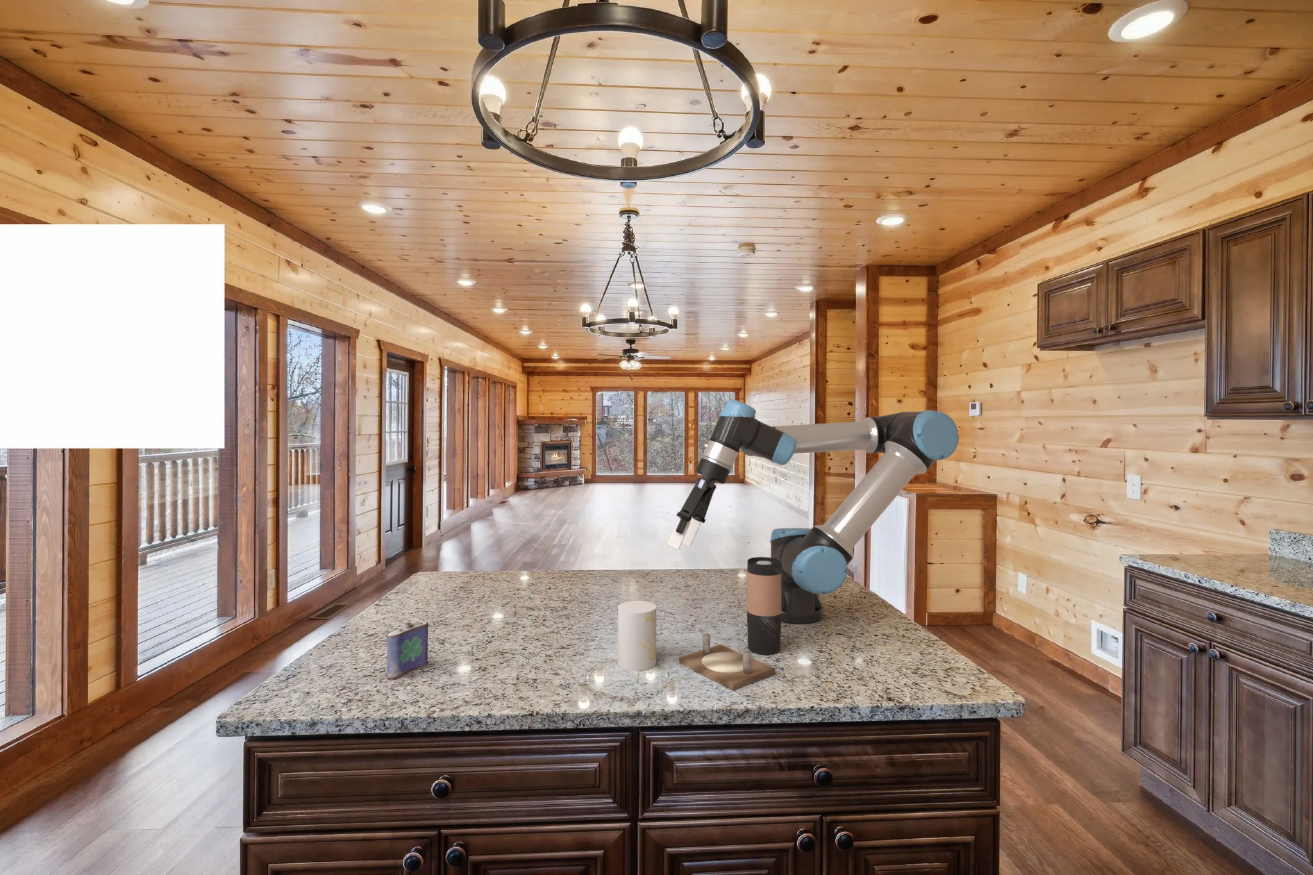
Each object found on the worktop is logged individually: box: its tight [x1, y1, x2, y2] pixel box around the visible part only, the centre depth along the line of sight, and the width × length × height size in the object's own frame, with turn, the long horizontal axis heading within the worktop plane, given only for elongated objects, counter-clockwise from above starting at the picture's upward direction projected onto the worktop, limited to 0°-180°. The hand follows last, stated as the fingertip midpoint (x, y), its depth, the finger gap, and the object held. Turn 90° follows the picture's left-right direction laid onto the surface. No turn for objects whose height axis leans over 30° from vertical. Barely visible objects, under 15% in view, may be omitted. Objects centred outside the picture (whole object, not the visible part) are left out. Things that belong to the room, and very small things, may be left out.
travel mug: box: [746, 556, 782, 656], centre depth 129 cm, size 8×8×20 cm
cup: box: [617, 600, 657, 672], centre depth 122 cm, size 8×8×12 cm
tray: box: [678, 633, 776, 692], centre depth 119 cm, size 16×12×5 cm
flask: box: [386, 617, 429, 681], centre depth 118 cm, size 9×3×11 cm, turn 151°
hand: (679, 545), depth 136 cm, fingers open, 13 cm apart
